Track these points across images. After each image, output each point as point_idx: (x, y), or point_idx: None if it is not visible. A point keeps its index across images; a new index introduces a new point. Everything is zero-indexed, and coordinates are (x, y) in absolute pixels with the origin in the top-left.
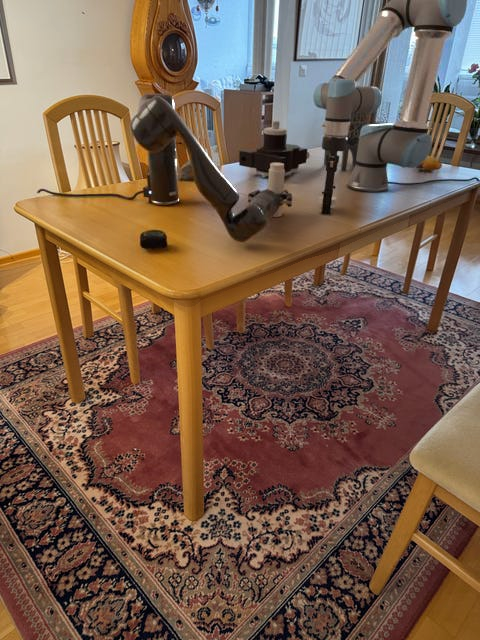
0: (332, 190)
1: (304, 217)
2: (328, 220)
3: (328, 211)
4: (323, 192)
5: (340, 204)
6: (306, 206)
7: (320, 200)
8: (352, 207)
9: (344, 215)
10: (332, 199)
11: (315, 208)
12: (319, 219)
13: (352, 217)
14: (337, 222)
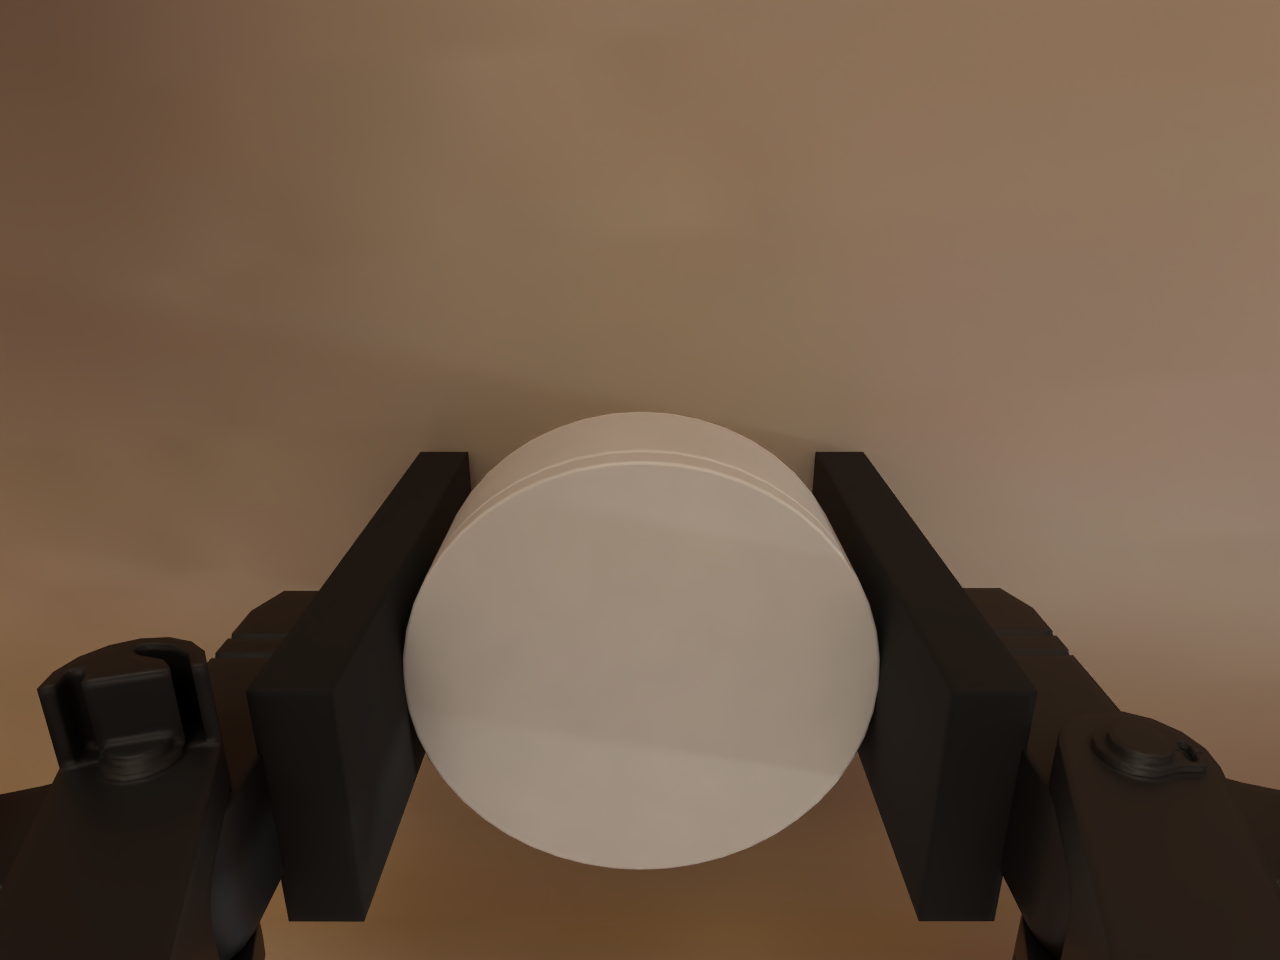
0: (913, 887)
1: (28, 113)
2: (76, 595)
3: None
4: (60, 729)
5: None
6: (926, 76)
7: (485, 494)
8: (1000, 928)
9: (486, 823)
10: (501, 798)
11: (800, 307)
12: (53, 437)
13: (421, 925)
14: (42, 732)
